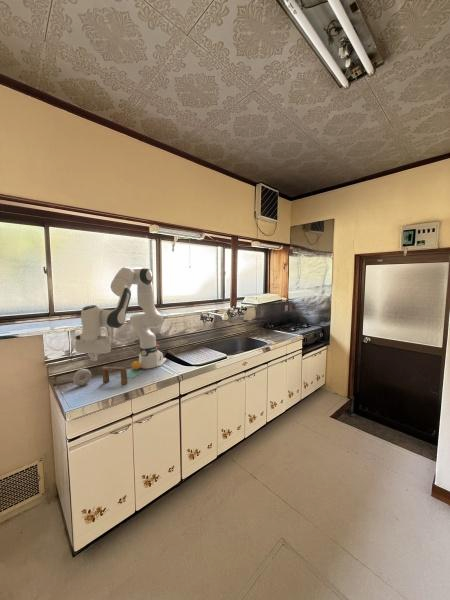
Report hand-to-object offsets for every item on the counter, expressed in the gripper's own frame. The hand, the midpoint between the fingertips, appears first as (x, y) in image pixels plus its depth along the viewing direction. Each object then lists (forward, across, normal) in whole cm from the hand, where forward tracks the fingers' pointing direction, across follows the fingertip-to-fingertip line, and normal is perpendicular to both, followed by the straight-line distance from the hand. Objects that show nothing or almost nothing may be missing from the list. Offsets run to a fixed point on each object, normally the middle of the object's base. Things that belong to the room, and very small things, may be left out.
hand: (94, 360), depth 133 cm
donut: (+19, +18, -9) cm, 28 cm away
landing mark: (+19, 0, -30) cm, 36 cm away
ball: (+16, +1, -38) cm, 41 cm away
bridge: (+19, 0, -15) cm, 24 cm away
